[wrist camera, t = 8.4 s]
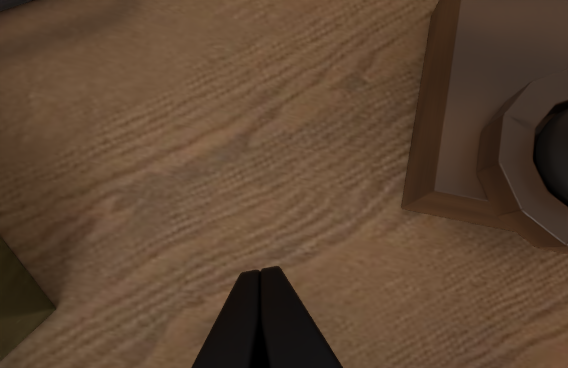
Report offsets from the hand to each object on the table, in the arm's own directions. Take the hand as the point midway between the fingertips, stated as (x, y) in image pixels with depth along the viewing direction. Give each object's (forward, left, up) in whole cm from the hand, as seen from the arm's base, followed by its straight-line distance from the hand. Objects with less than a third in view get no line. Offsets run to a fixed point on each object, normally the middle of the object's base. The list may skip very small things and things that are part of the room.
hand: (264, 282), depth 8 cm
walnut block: (+4, -14, -12) cm, 19 cm away
